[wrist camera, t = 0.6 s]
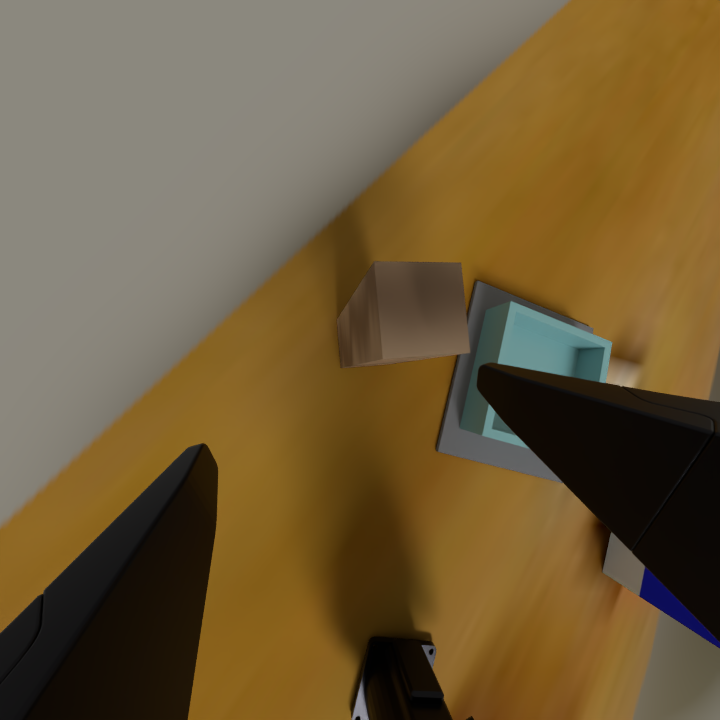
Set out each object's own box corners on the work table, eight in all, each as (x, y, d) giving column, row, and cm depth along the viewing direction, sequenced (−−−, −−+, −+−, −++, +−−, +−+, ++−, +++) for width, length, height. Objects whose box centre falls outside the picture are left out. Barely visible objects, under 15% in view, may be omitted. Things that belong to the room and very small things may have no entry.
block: (387, 364, 25) (470, 352, 13) (340, 368, 24) (382, 359, 12) (382, 317, 25) (461, 262, 13) (336, 319, 24) (374, 261, 12)
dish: (559, 455, 28) (592, 466, 25) (459, 428, 26) (482, 435, 22) (578, 345, 30) (612, 342, 26) (486, 309, 27) (510, 300, 24)
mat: (563, 482, 29) (567, 484, 28) (435, 450, 25) (438, 451, 25) (589, 328, 31) (593, 328, 30) (475, 281, 28) (477, 280, 27)
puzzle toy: (601, 571, 29) (752, 669, 19) (620, 483, 31) (770, 533, 21) (663, 590, 31) (828, 689, 21) (678, 507, 32) (840, 563, 23)
